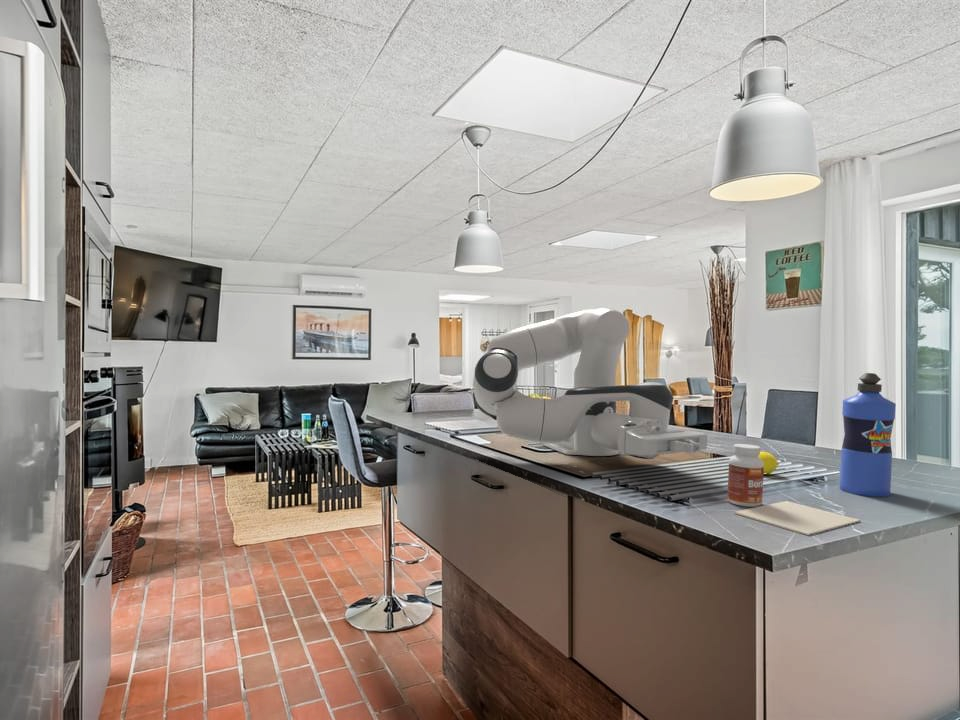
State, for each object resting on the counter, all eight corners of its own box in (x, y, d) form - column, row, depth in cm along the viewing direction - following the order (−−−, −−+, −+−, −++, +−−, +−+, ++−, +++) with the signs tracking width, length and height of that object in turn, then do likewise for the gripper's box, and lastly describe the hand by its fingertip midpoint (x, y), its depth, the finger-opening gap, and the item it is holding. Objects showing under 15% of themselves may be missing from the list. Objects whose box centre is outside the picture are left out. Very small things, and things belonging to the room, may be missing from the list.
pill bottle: (751, 509, 111) (753, 450, 110) (720, 501, 116) (723, 444, 115) (768, 504, 115) (771, 447, 114) (738, 497, 120) (740, 442, 119)
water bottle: (828, 485, 131) (834, 371, 130) (868, 485, 132) (874, 372, 131) (859, 497, 122) (865, 374, 121) (902, 497, 123) (908, 375, 122)
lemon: (744, 475, 142) (742, 452, 142) (755, 472, 145) (753, 450, 146) (773, 477, 137) (771, 453, 137) (784, 474, 140) (782, 450, 140)
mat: (734, 513, 108) (734, 511, 108) (786, 502, 116) (786, 500, 116) (808, 535, 97) (808, 533, 97) (860, 521, 105) (860, 519, 105)
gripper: (676, 448, 142) (727, 459, 130) (612, 455, 131) (662, 467, 119) (677, 421, 142) (729, 430, 130) (614, 426, 131) (663, 436, 119)
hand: (696, 448), depth 124 cm, fingers closed
